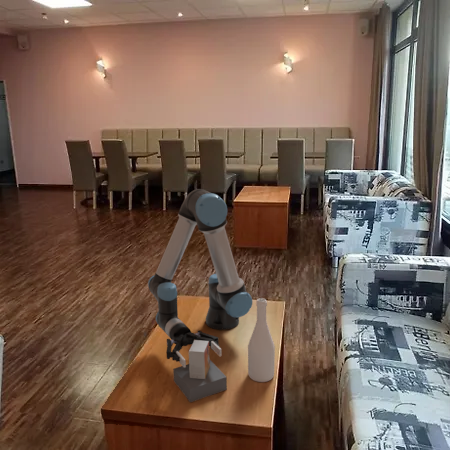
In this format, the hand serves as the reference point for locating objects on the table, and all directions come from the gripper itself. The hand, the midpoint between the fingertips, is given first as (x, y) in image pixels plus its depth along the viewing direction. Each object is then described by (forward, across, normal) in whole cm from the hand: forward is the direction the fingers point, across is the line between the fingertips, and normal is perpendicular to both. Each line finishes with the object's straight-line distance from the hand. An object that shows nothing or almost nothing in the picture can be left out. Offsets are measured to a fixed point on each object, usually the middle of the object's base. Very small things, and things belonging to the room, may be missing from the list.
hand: (203, 358), depth 153 cm
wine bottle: (+3, -22, -13) cm, 26 cm away
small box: (-3, 0, -8) cm, 8 cm away
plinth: (-3, 0, -12) cm, 13 cm away
